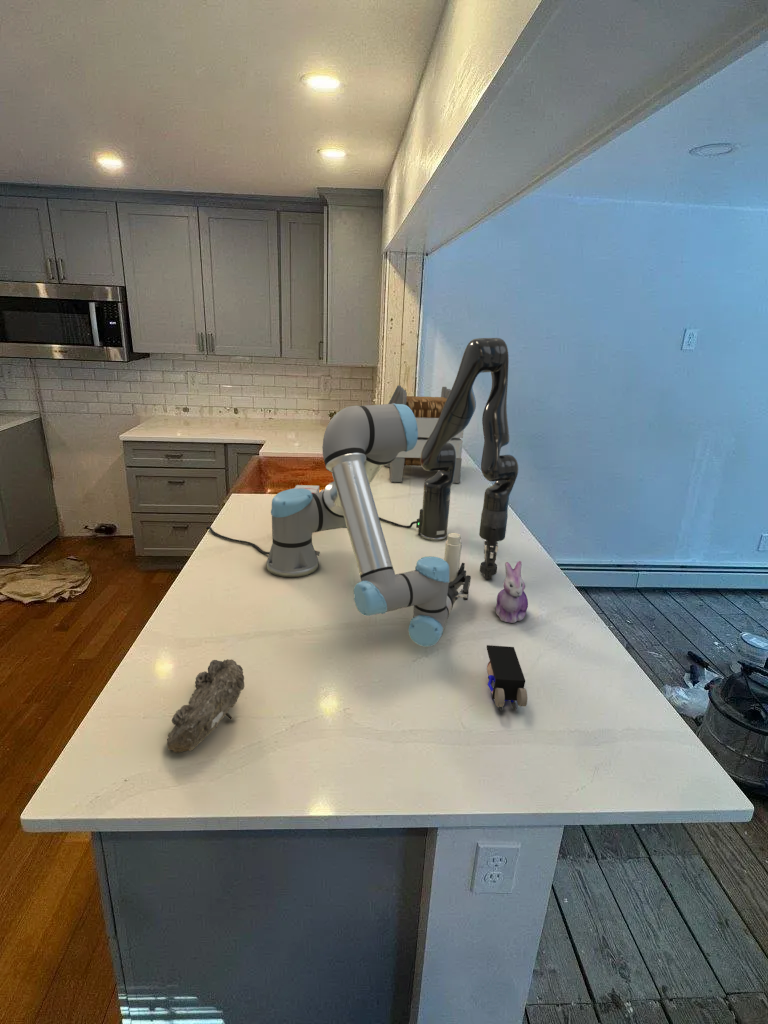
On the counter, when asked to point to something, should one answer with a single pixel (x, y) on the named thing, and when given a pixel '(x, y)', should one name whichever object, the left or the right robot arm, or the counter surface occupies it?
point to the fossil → (206, 705)
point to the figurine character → (506, 677)
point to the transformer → (422, 431)
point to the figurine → (512, 596)
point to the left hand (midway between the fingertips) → (454, 565)
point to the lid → (482, 568)
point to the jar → (453, 554)
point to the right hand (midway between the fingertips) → (487, 574)
